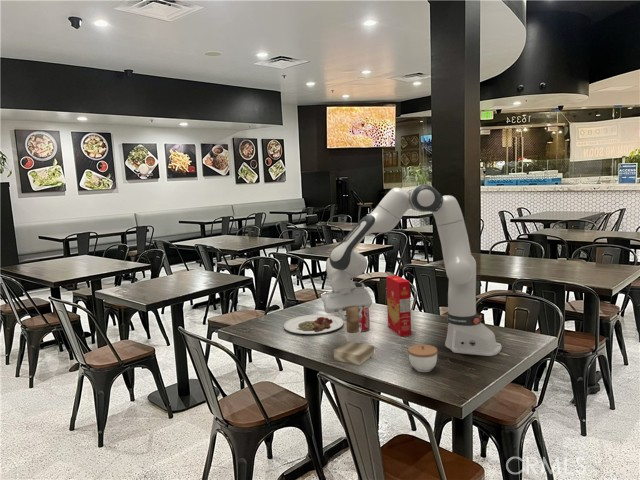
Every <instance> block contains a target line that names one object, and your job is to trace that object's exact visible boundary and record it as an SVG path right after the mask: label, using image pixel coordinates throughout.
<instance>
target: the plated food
mask: <svg viewBox="0 0 640 480" xmlns="http://www.w3.org/2000/svg"><path fill="white" fill-rule="evenodd" d="M344 324H345V322H344V321H343V318H342V317H339V316H336V315H330V314H320V313H319V314H306V315H300V316H295V317H293V318H291V319H288V320H286V321H285V322H284V324H283V328H284V329H285V330H286V331H288V332H290V333H294V334H304V335H315V334H316V335H319V334H323V333H329V332H333V331H336V330H338V329H340V328H341V327H343V325H344Z"/></svg>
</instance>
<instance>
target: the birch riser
mask: <svg viewBox="0 0 640 480" xmlns="http://www.w3.org/2000/svg"><path fill="white" fill-rule="evenodd" d="M373 355H374V356H375V345H372V344H367V343H361V342H360V343H357V342H351V341H348V342H347V341H346V342H345V343H344V344H342V345H340V346H339V347H337V348H335V349H333V360H334V361H337V362H343V363H348V364H351V365H352V364H353V365H357V366H362V364H364V363H365V362H366V360H367V359H368V360H369V359H371V358H373ZM370 357H371V358H370ZM368 360H367V361H368ZM363 362H364V363H363Z"/></svg>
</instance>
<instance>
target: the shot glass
mask: <svg viewBox="0 0 640 480" xmlns="http://www.w3.org/2000/svg"><path fill="white" fill-rule="evenodd" d="M344 331H345V338H346V343H347V342H348V341H351V342H357V343H361V339H362V338H361V337H362V336H361V335H362V331H361V328H359V332H357V333H348V332H347V327H345V330H344Z"/></svg>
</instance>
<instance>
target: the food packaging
mask: <svg viewBox="0 0 640 480" xmlns="http://www.w3.org/2000/svg"><path fill="white" fill-rule="evenodd" d="M385 278H386V279H385V281H386V283H385V284H386V308H387V311H386V312H387V327H388V329H390V330H392V332H394V333H395V334H397V335H398V336H400V337H407V336H412V318H411V317H412V315H411V313H412V312H411V285H410V284H411V282H410V280H407V279H405V278H404V277H402V276H399V275H397V274H396V275H389V276H388V275H387V276H385Z"/></svg>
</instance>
